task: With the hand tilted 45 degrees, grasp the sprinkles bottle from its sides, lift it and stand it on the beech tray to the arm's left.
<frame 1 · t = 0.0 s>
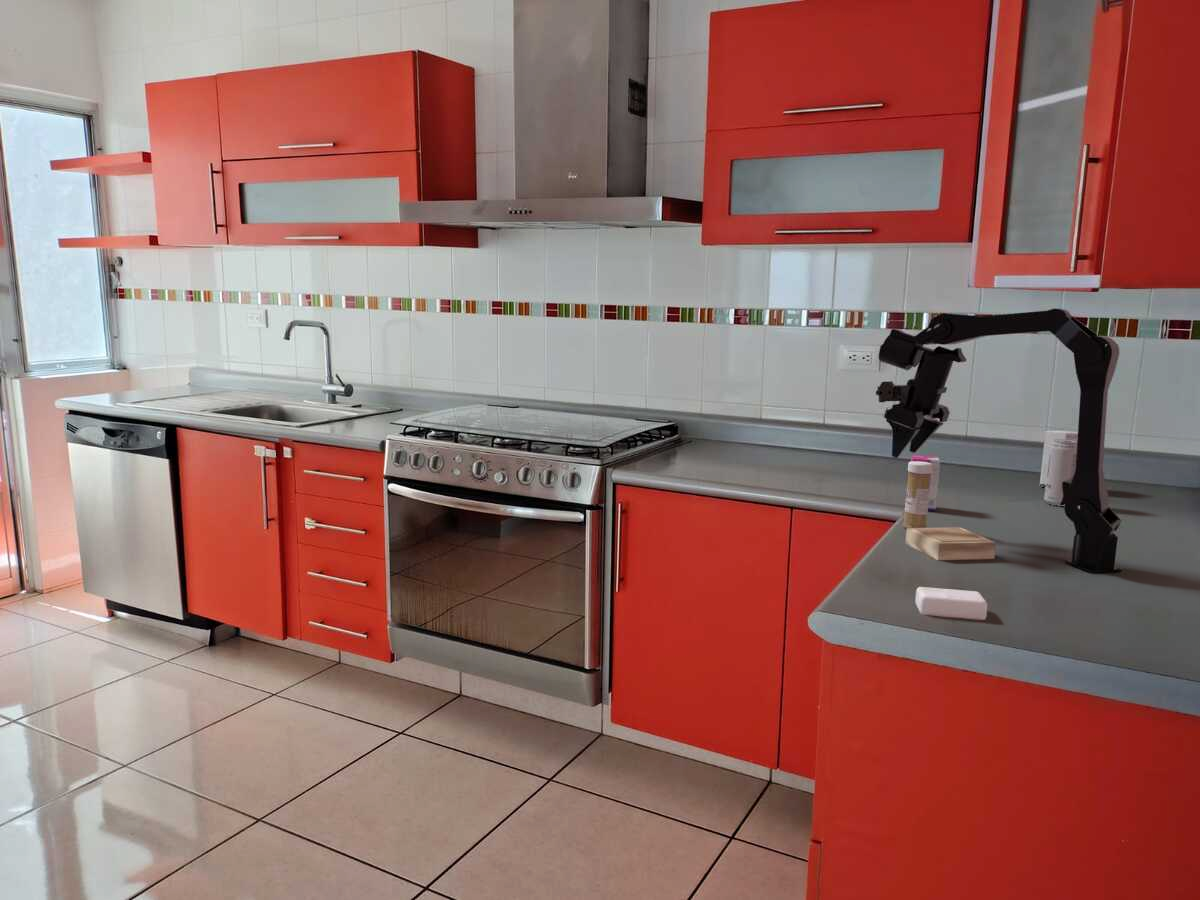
hand: (903, 454, 174), 15 cm above the counter, tool pointing down, fingers open, 9 cm apart
supplement box: (921, 508, 199), on the counter
skincare box: (1058, 489, 228), on the counter
beech tray: (948, 551, 163), on the counter
sprinkles bottle: (914, 529, 180), on the counter
soap: (949, 614, 129), on the counter
energy drink can: (1057, 505, 208), on the counter
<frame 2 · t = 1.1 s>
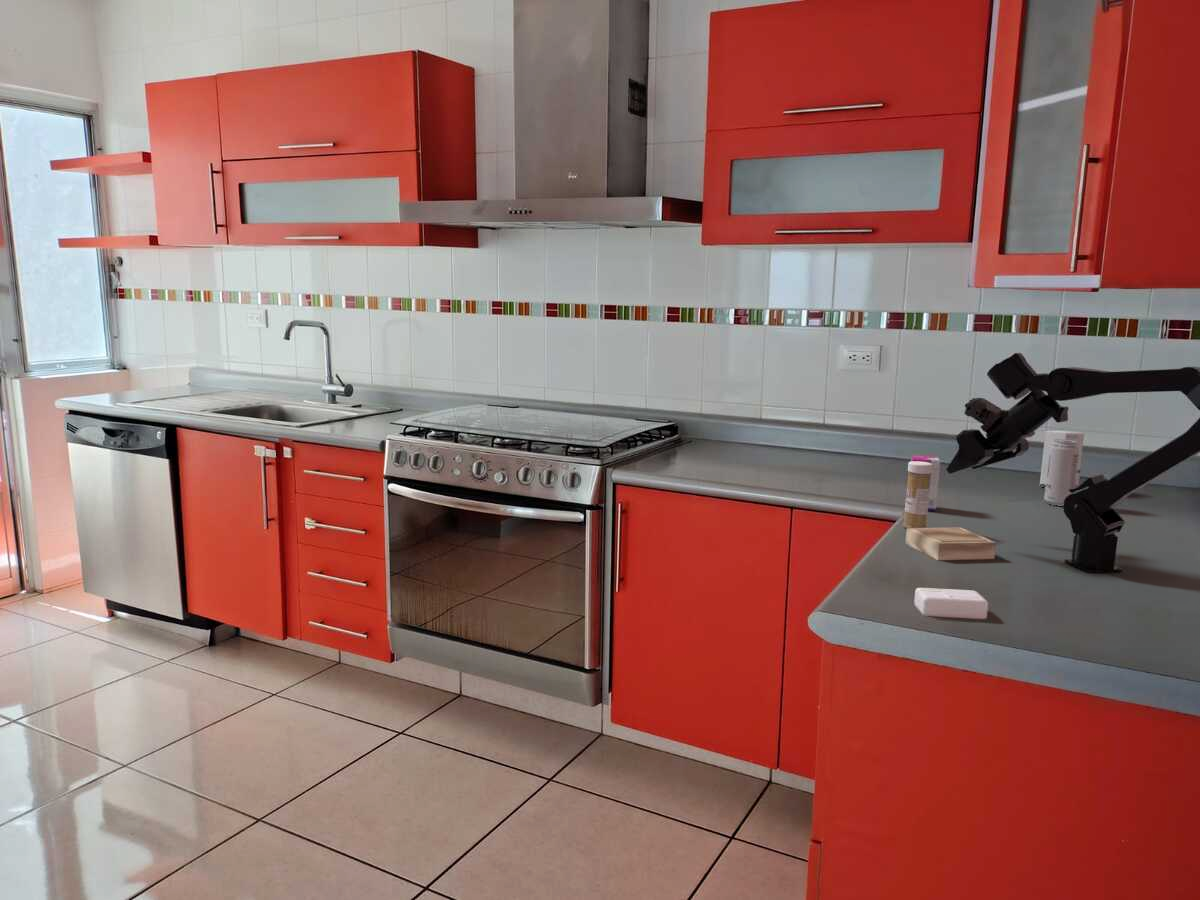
hand: (960, 469, 171), 13 cm above the counter, tool tilted 45°, fingers open, 9 cm apart
nothing on the counter moved.
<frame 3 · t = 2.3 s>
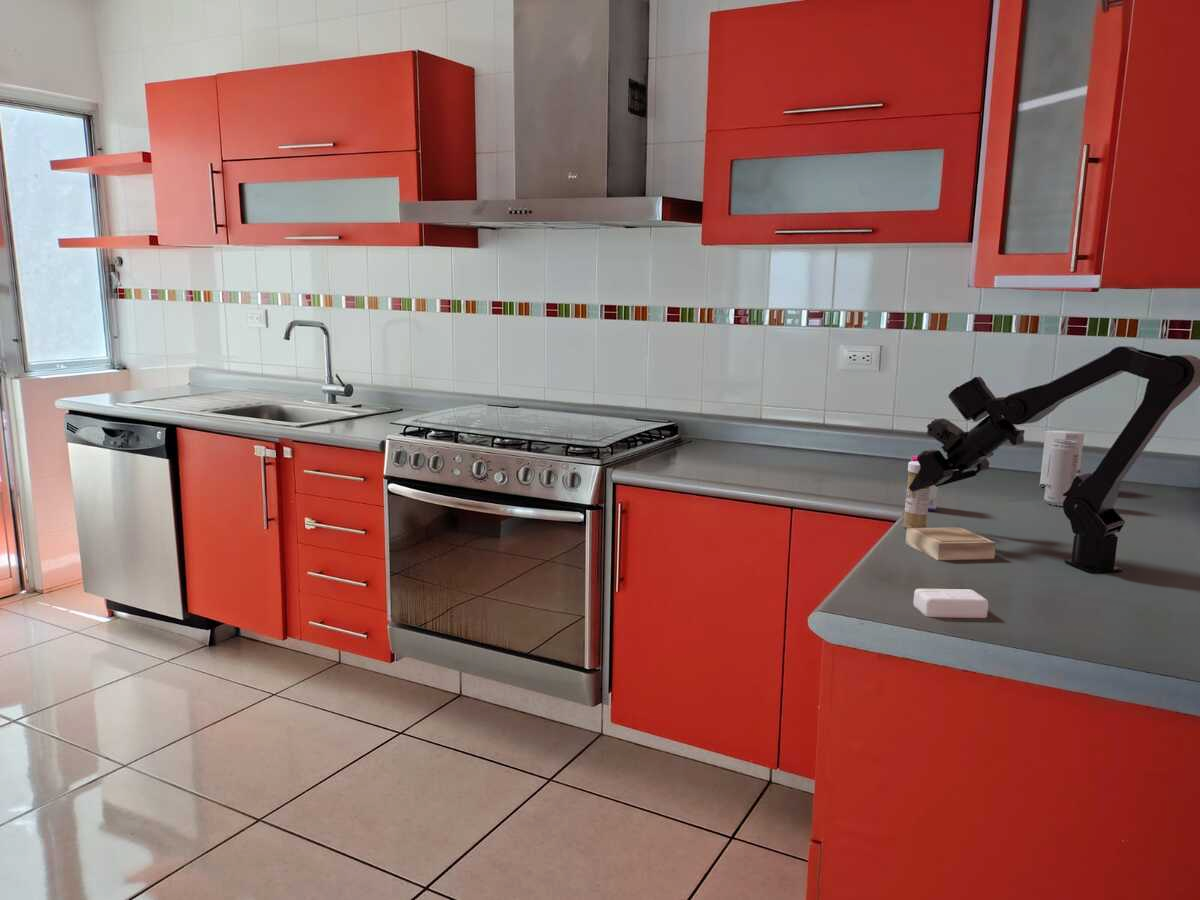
hand: (922, 487, 178), 9 cm above the counter, tool tilted 45°, fingers open, 9 cm apart
nothing on the counter moved.
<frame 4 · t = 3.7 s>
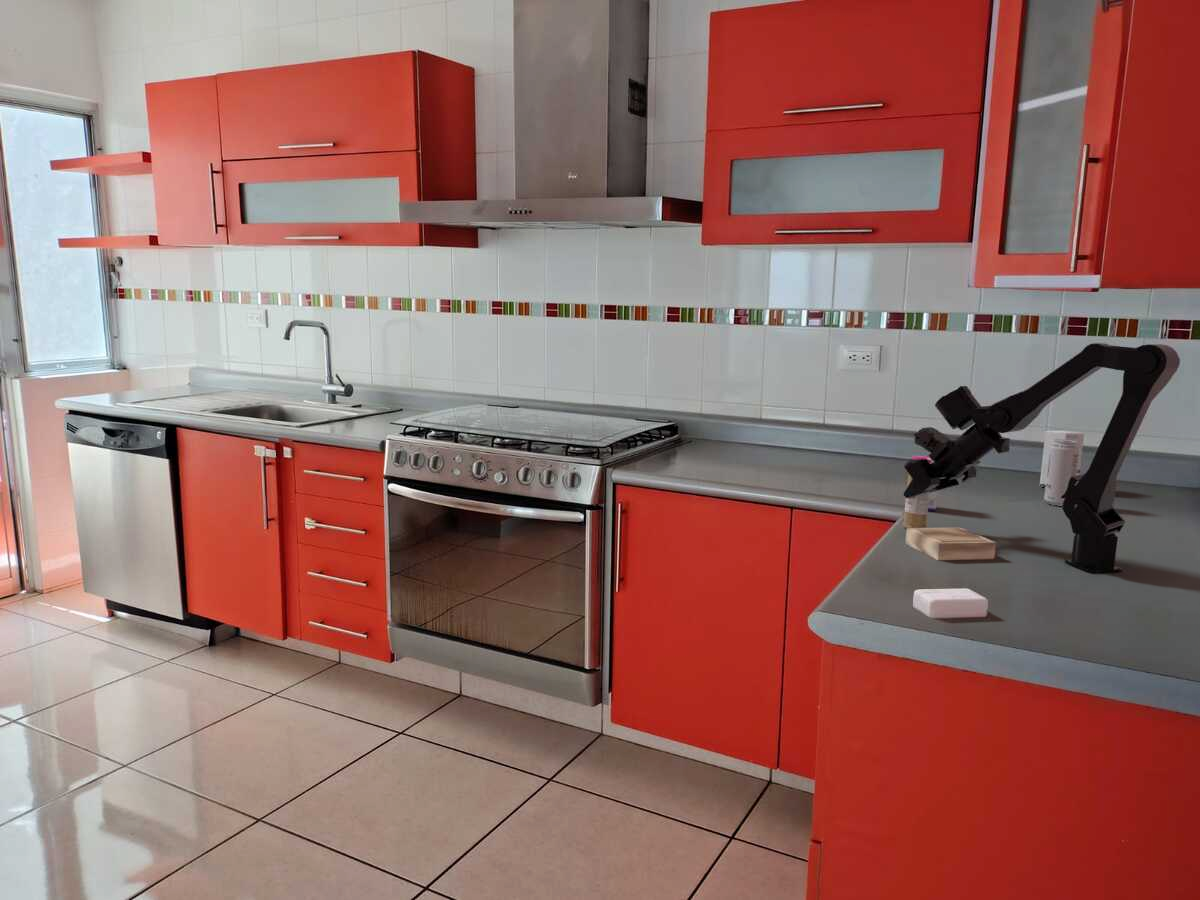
hand: (911, 494, 180), 7 cm above the counter, tool tilted 45°, fingers closed on sprinkles bottle, 4 cm apart
sprinkles bottle: (914, 529, 180), on the counter, touching gripper
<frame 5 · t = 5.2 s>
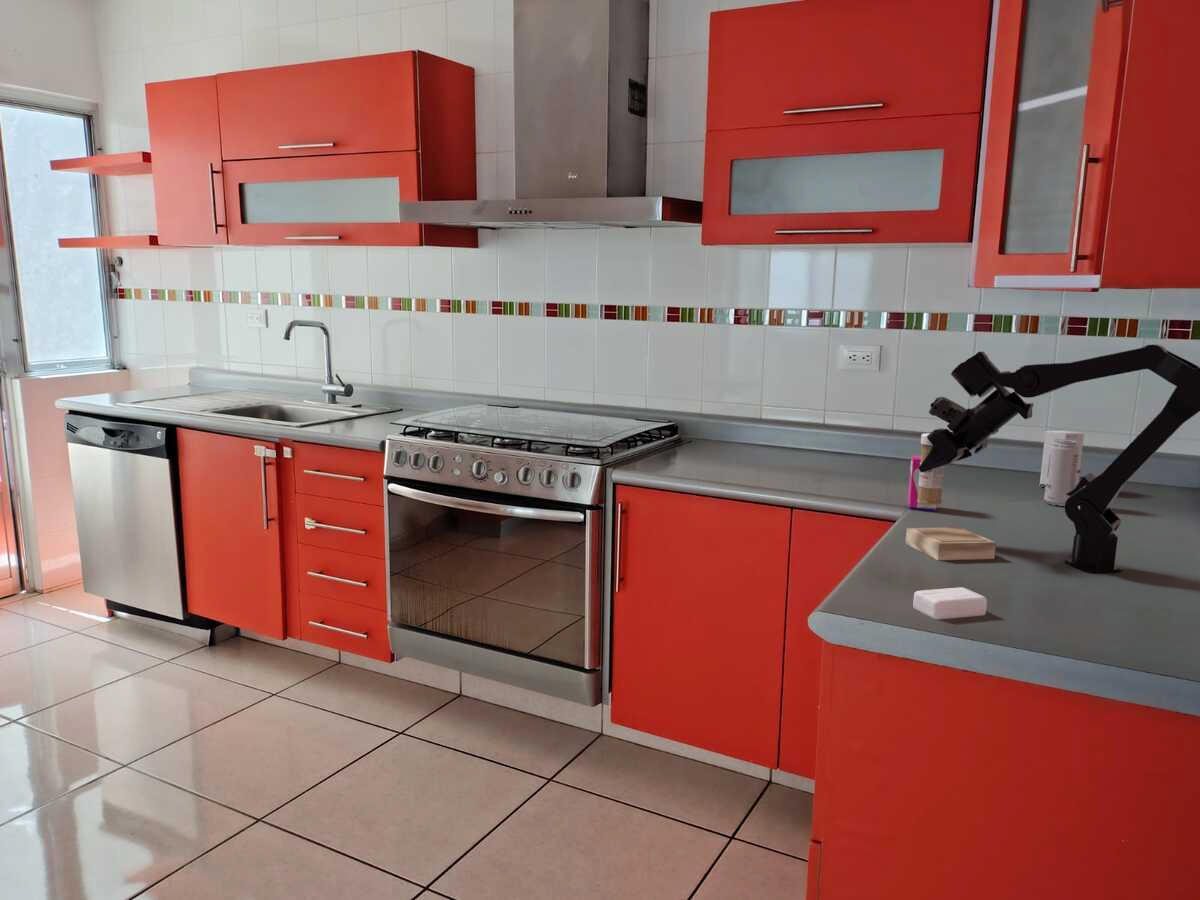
hand: (924, 468, 171), 13 cm above the counter, tool tilted 45°, fingers closed on sprinkles bottle, 4 cm apart
sprinkles bottle: (929, 504, 172), point 6 cm above the counter, touching gripper
when the fingers open (11 cm above the counter, at t = 6.8 s): sprinkles bottle stays where it is, resting on beech tray.
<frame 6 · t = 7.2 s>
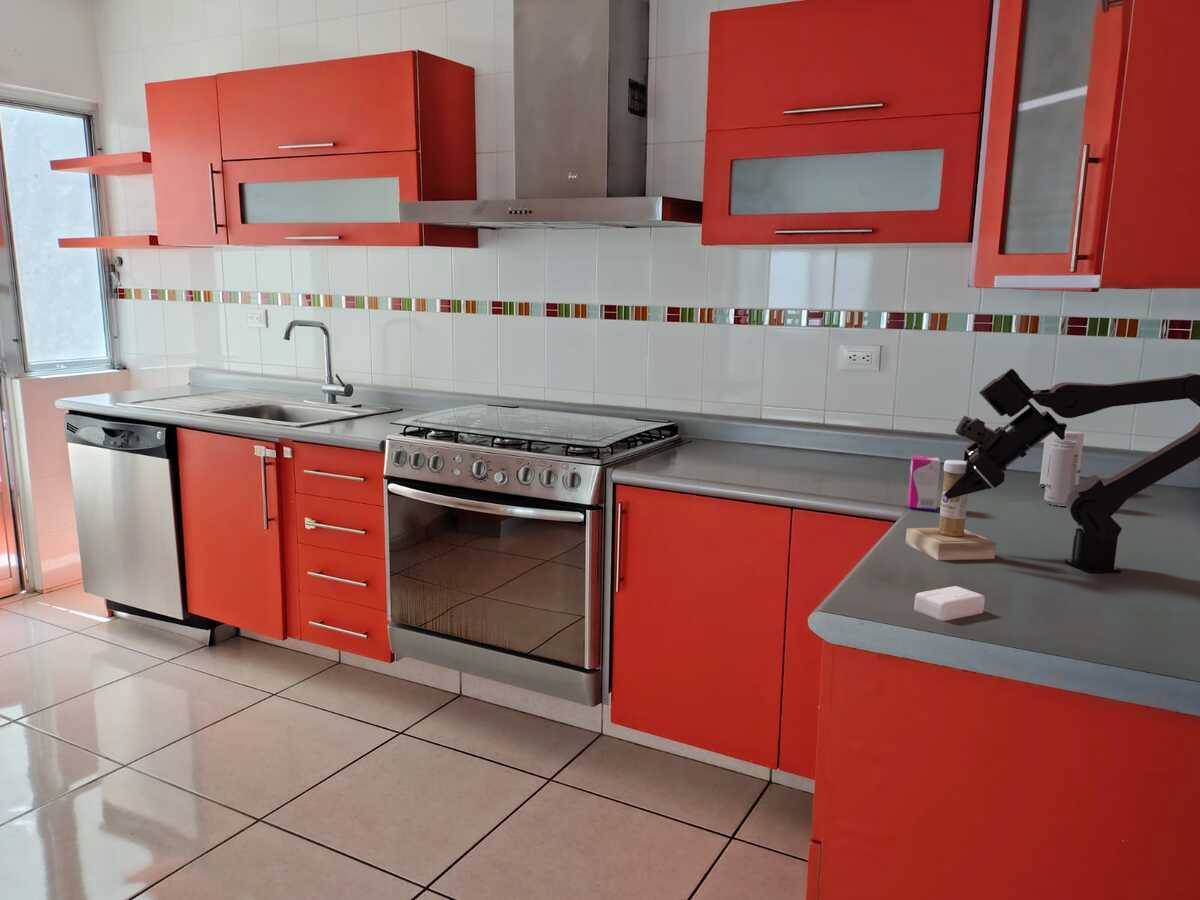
hand: (945, 492, 161), 11 cm above the counter, tool tilted 45°, fingers open, 9 cm apart
sprinkles bottle: (951, 535, 162), point 3 cm above the counter, touching beech tray
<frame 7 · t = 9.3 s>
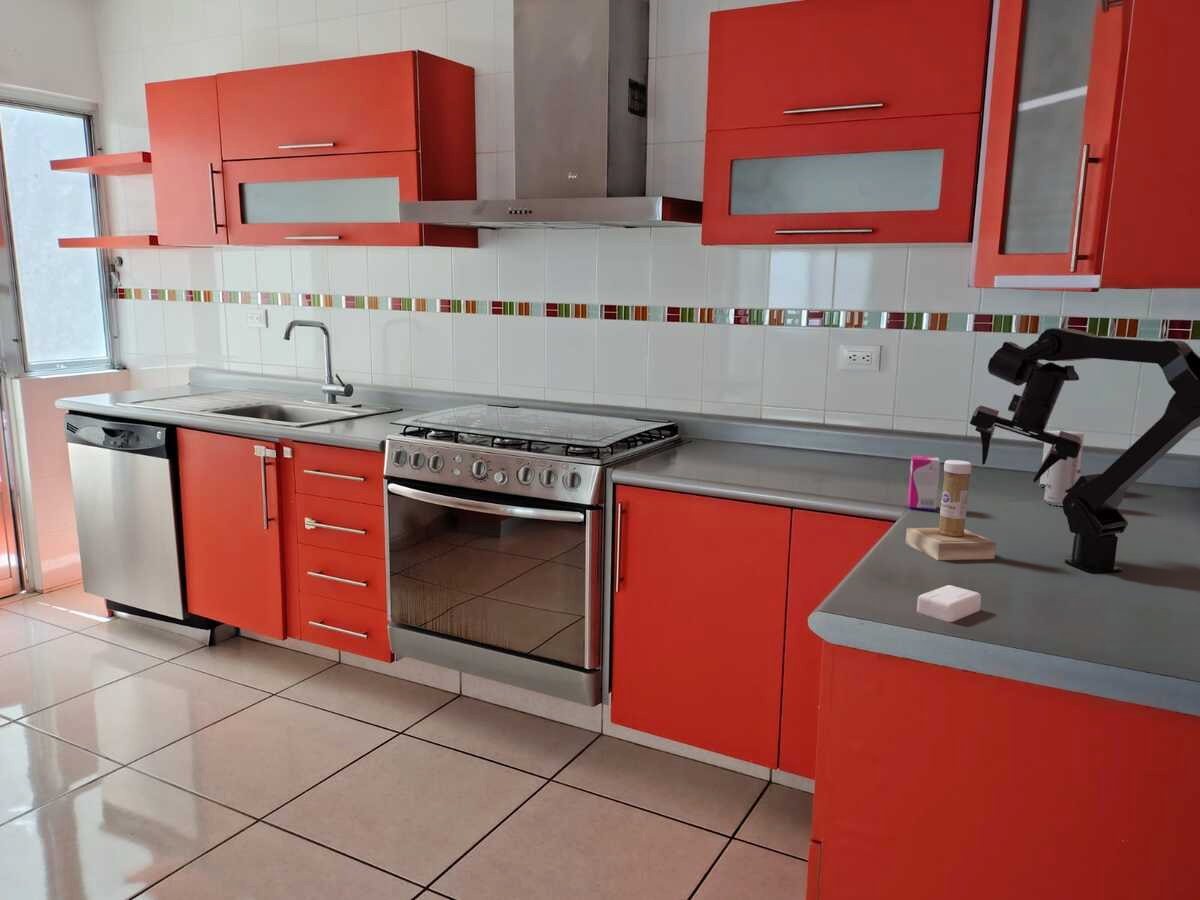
hand: (1008, 472, 167), 14 cm above the counter, tool tilted 15°, fingers open, 9 cm apart
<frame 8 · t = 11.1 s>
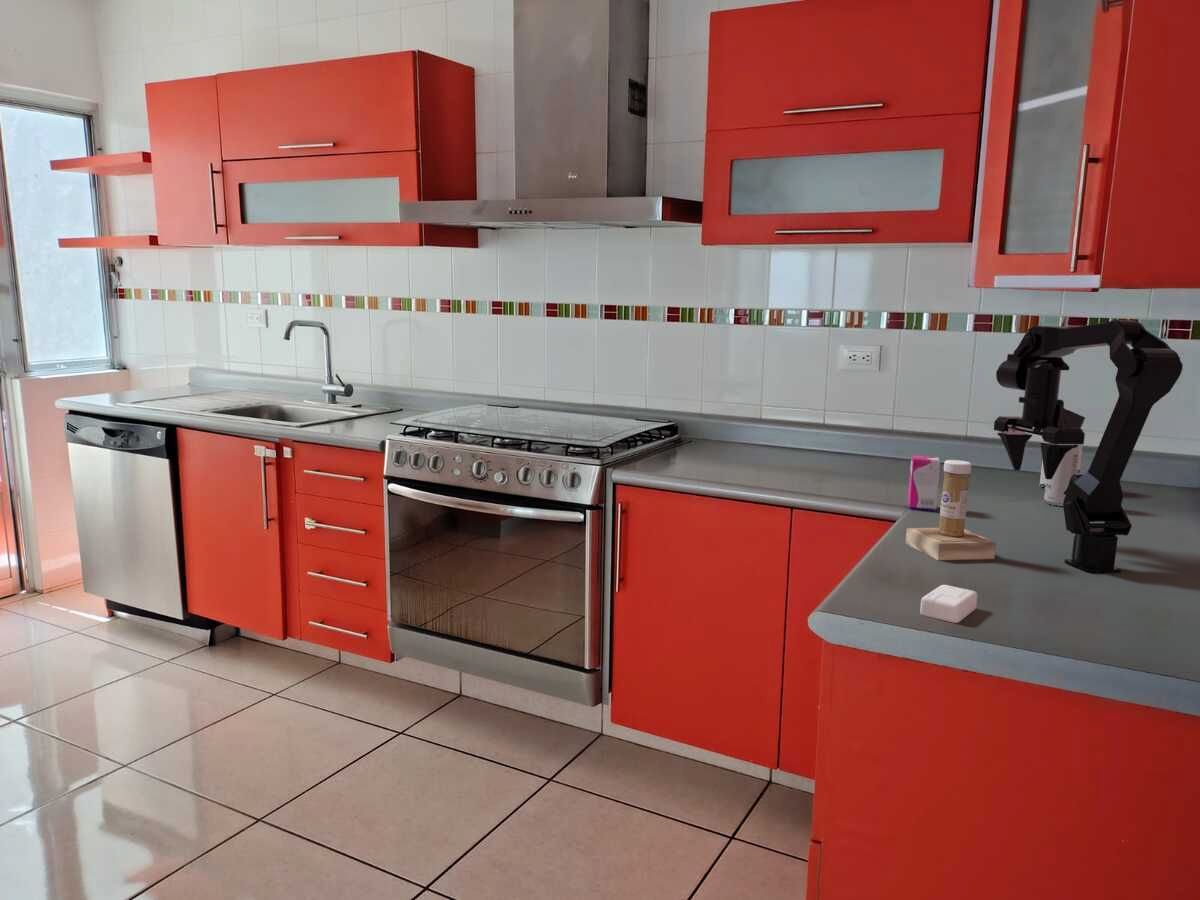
hand: (1032, 474, 170), 13 cm above the counter, tool pointing down, fingers open, 9 cm apart
at the end: sprinkles bottle inside the target area on the beech tray (0.2 cm from its centre), point 3.0 cm above the beech tray's base; sprinkles bottle tilted 0°; the gripper is holding nothing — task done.
